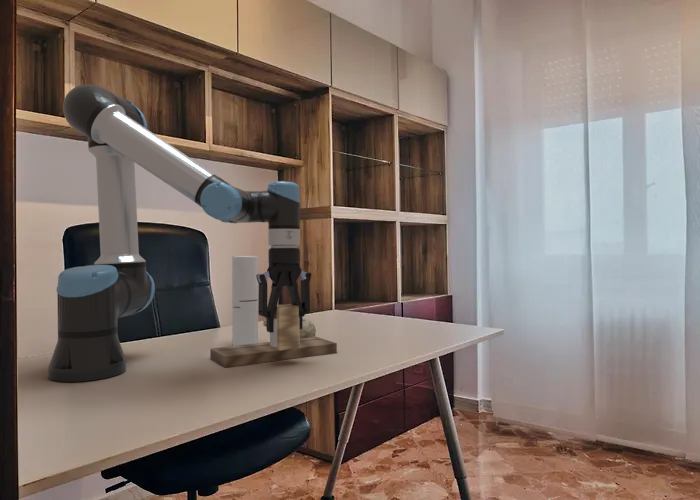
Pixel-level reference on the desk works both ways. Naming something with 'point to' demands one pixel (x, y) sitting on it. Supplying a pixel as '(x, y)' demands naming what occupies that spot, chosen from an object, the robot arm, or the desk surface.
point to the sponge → (307, 329)
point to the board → (270, 352)
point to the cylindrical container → (244, 300)
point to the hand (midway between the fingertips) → (284, 344)
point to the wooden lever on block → (287, 327)
